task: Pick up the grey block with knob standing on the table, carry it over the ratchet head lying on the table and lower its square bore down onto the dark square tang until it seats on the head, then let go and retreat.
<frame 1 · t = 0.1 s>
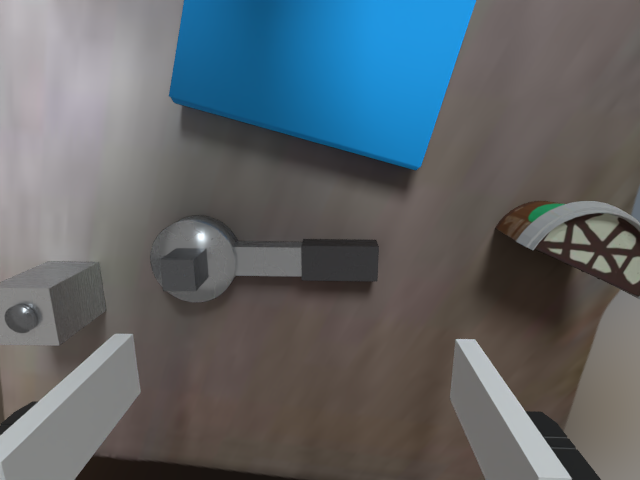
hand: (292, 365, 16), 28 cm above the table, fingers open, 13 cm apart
food container: (547, 220, 42), on the table
ratchet: (201, 254, 45), on the table
grey block with knob: (77, 286, 46), on the table
book: (319, 53, 39), on the table
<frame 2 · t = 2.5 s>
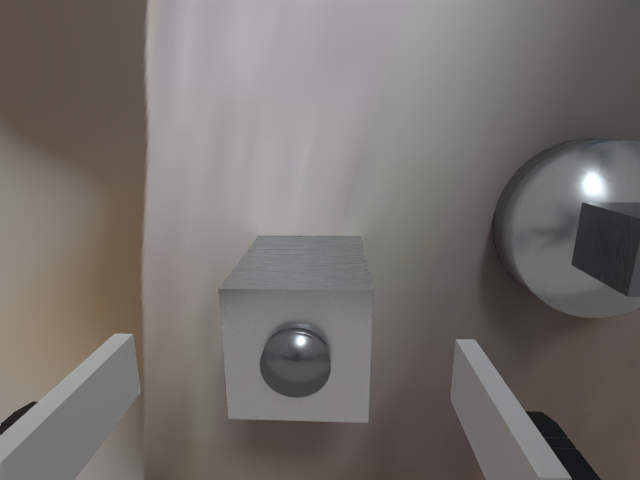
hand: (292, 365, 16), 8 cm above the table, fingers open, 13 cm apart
ratchet: (574, 221, 22), on the table
grey block with knob: (310, 283, 24), on the table
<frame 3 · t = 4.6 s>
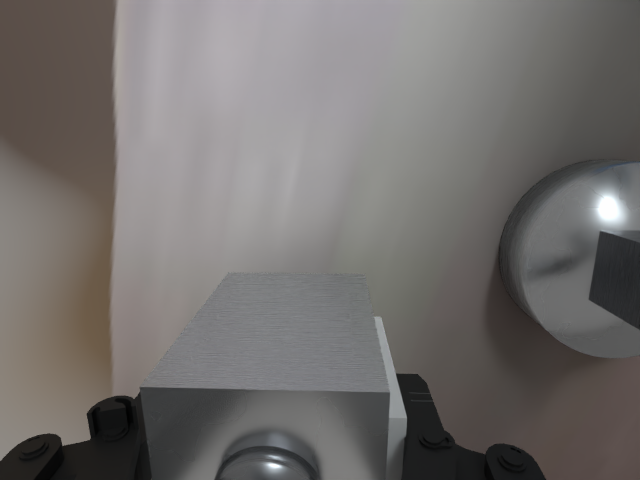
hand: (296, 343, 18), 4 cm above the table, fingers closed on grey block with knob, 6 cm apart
ratchet: (587, 248, 20), on the table
grey block with knob: (297, 335, 18), point 3 cm above the table, touching gripper
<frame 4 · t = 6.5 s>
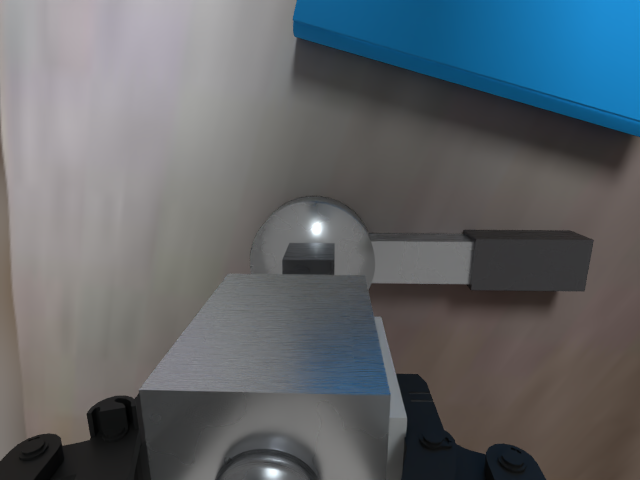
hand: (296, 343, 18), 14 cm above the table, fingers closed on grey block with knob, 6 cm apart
ratchet: (314, 252, 31), on the table
grey block with knob: (297, 336, 18), point 14 cm above the table, touching gripper
when the fingers open (4 cm above the table, at t = 8.3 s): grey block with knob drops 1 cm, resting on ratchet.
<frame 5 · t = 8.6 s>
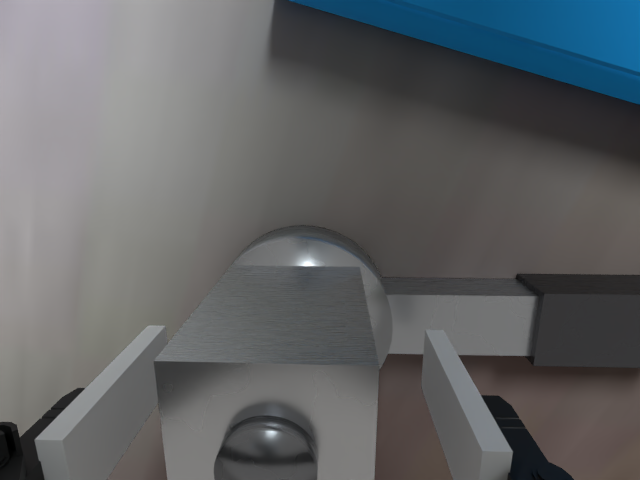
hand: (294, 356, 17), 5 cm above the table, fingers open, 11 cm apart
ratchet: (304, 303, 22), on the table
grey block with knob: (296, 324, 19), point 3 cm above the table, touching ratchet
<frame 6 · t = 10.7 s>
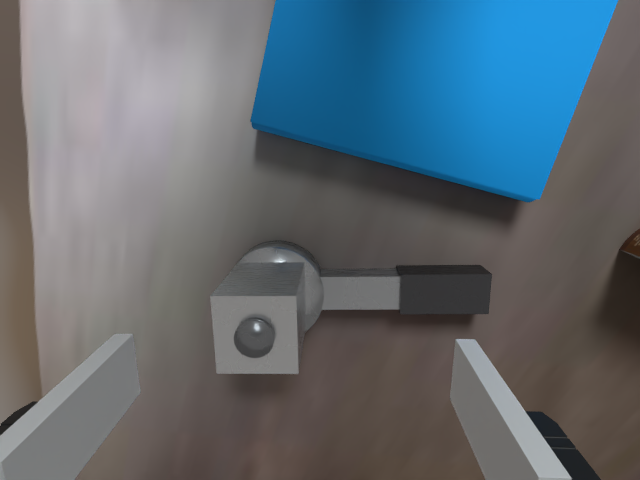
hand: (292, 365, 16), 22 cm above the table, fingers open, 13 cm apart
ratchet: (278, 285, 39), on the table
grey block with knob: (272, 294, 36), point 3 cm above the table, touching ratchet
book: (415, 70, 35), on the table
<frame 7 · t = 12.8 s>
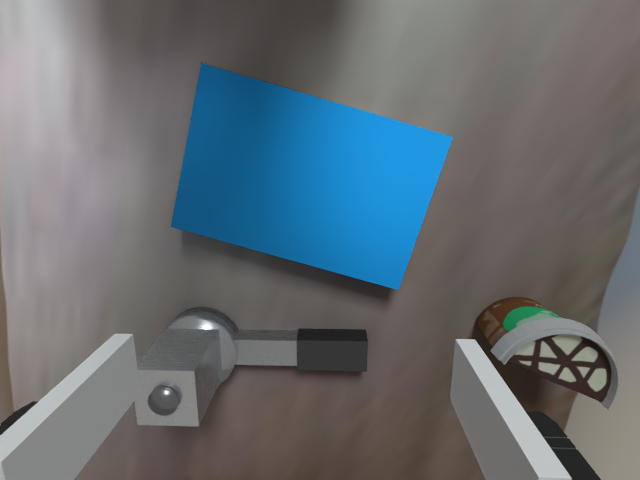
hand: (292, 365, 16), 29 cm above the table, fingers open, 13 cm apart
food container: (523, 313, 46), on the table
ratchet: (204, 341, 48), on the table
grey block with knob: (195, 352, 45), point 3 cm above the table, touching ratchet
book: (308, 181, 43), on the table
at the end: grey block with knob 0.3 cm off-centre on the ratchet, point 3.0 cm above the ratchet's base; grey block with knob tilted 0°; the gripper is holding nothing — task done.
